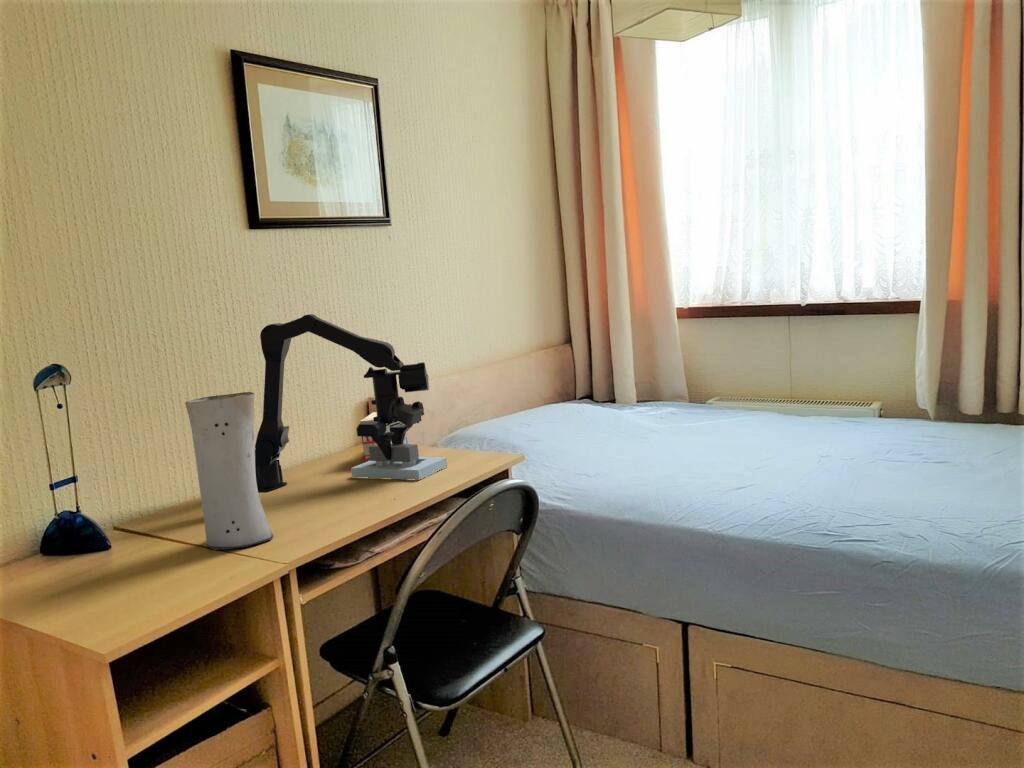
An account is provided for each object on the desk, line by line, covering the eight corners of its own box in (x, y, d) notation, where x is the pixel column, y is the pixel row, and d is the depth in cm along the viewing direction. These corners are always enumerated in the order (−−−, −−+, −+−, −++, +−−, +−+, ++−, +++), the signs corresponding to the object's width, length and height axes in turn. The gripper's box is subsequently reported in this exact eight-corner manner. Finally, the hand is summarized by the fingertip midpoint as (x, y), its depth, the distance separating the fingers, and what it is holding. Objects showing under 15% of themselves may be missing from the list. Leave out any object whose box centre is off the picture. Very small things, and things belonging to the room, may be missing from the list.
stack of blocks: (387, 448, 224) (382, 406, 222) (408, 446, 223) (403, 404, 222) (364, 466, 203) (359, 420, 201) (388, 465, 202) (382, 418, 200)
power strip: (419, 467, 188) (417, 443, 188) (411, 471, 185) (408, 446, 185) (380, 466, 194) (377, 442, 193) (371, 469, 191) (368, 446, 190)
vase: (291, 534, 150) (274, 390, 148) (231, 556, 139) (211, 401, 136) (248, 528, 158) (231, 391, 155) (188, 549, 146) (168, 402, 144)
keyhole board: (447, 467, 192) (446, 457, 191) (419, 480, 181) (418, 470, 181) (382, 465, 201) (381, 456, 201) (352, 477, 191) (351, 467, 190)
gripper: (389, 400, 175) (397, 468, 177) (435, 387, 192) (442, 449, 194) (351, 401, 181) (359, 467, 183) (399, 388, 197) (406, 448, 199)
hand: (393, 457), depth 189 cm, fingers closed on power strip, 3 cm apart
